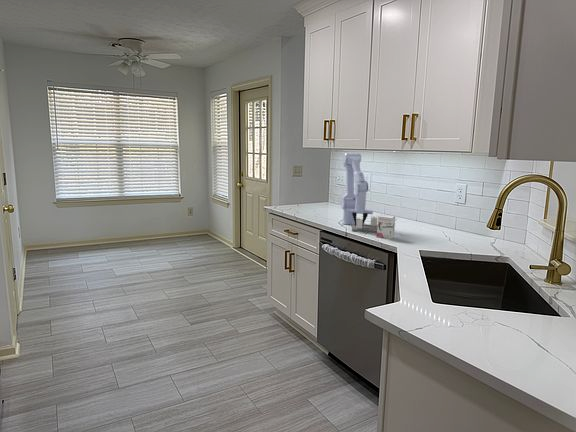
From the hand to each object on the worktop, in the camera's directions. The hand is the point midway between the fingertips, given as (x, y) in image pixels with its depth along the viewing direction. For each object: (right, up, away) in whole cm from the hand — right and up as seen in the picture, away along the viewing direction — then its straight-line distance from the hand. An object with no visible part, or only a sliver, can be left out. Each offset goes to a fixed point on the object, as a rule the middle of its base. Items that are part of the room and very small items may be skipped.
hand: (359, 225), depth 237 cm
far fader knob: (+10, 0, +8) cm, 13 cm away
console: (+6, -2, +4) cm, 7 cm away
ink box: (+12, -6, -16) cm, 20 cm away
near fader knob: (0, -1, 0) cm, 1 cm away
